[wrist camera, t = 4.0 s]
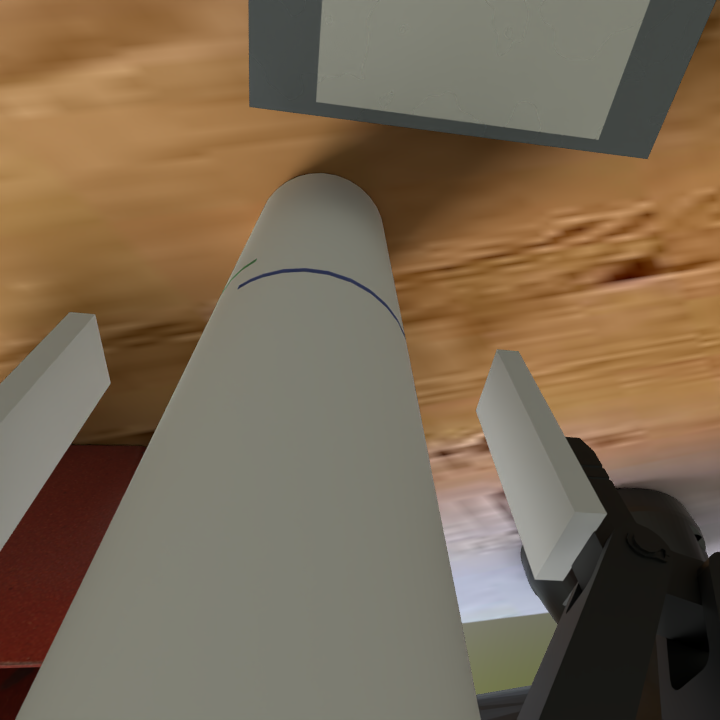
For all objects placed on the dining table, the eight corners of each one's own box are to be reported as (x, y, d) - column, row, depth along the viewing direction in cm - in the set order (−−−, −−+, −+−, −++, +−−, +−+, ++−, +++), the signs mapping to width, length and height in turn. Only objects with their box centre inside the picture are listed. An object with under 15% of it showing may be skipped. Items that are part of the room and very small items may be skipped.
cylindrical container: (398, 274, 28) (541, 910, 8) (288, 309, 29) (154, 945, 9) (361, 153, 24) (445, 776, 4) (236, 198, 26) (-221, 868, 5)
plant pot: (193, 411, 34) (88, 670, 20) (223, 566, 45) (168, 805, 31) (-84, 405, 33) (-397, 673, 19) (14, 565, 44) (-141, 811, 30)
